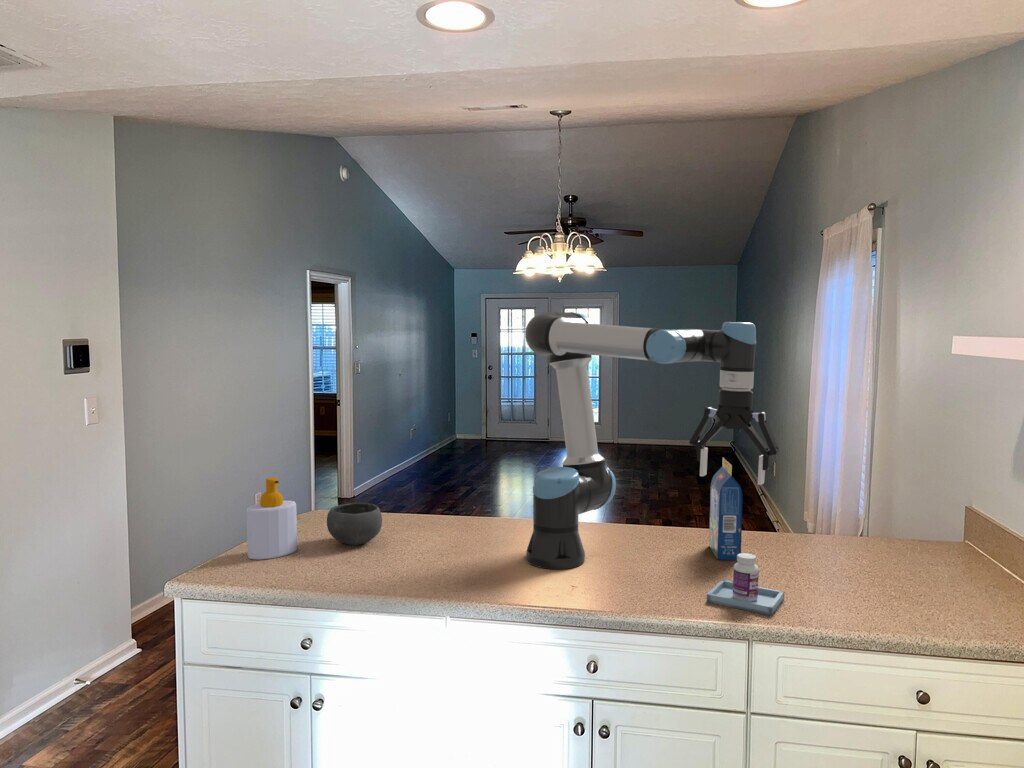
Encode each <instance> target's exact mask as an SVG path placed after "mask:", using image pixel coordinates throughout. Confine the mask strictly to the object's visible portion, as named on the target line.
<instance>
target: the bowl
mask: <svg viewBox="0 0 1024 768" xmlns="http://www.w3.org/2000/svg"><path fill="white" fill-rule="evenodd" d="M382 526H383V516H382V511H381V509H380V507H379V506H377V505H375V504H373V503H370V502H369V503H368V502H349V503H343V504H339V505H334V506H332V507H331V508H330V509H329V511H328V513H327V517H326V527H327V531H328V533H329V534H330V535H331V536H332V538H333V539H334V540H336V541H337V542H340V543H341V544H344V545H345V544H346V545H350V546H351V545H353V546H354V545H355V546H357V545H362V544H366V543H368V542H370V541H371V540H372V539H374V538H375V537H376V536H377V535H379V534H380V532H381V530H382Z"/></svg>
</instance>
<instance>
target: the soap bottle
mask: <svg viewBox="0 0 1024 768" xmlns="http://www.w3.org/2000/svg"><path fill="white" fill-rule="evenodd" d="M278 484H280V481H279V479H278V478H277V477H274V476H273V477H267V478H265V488H266V489H265V491H264V492H263V493H262V494H261V496H260V499H259V502H260V503H256V504H253V505H250V506H249V507H247V508H246V538H247V539H246V541H247V542H246V543H247V557H248V559H251V560H258V561H259V560H269V559H270V560H271V559H276V558H281V557H285V556H287V555H288V556H289V555H290V554H293V553H296V551H297V550H298V530H297V529H298V525H297V524H298V523H297V520H298V519H297V516H298V515H297V514H298V513H297V503H296V501H295V500H284V497H283V495H282V493H281V492H279V491H278V489H277V487H278V486H277V485H278Z"/></svg>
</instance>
